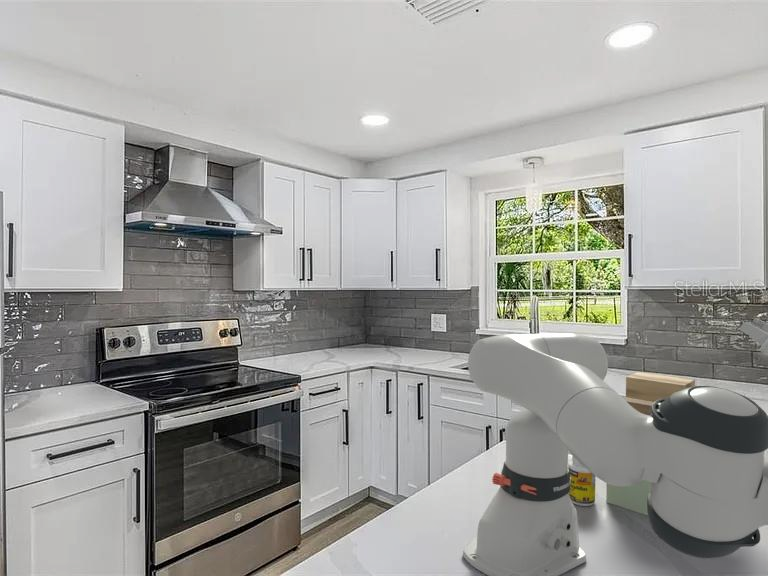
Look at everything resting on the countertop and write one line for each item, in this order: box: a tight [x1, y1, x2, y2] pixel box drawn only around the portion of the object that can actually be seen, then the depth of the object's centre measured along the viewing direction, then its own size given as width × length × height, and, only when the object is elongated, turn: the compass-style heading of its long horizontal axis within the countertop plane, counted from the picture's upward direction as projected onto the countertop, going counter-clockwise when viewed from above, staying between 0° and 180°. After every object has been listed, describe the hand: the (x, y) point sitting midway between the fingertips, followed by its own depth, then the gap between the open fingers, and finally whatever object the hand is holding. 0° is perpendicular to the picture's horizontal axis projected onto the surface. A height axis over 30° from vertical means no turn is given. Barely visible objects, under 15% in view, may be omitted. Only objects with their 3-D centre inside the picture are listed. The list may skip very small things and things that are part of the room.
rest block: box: [605, 480, 651, 517], centre depth 107 cm, size 7×10×19 cm
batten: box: [620, 395, 654, 416], centre depth 104 cm, size 4×22×4 cm, turn 44°
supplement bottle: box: [568, 454, 596, 507], centre depth 109 cm, size 6×6×10 cm
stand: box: [625, 371, 696, 402], centre depth 114 cm, size 8×12×26 cm, turn 44°
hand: (747, 323), depth 96 cm, fingers open, 8 cm apart
